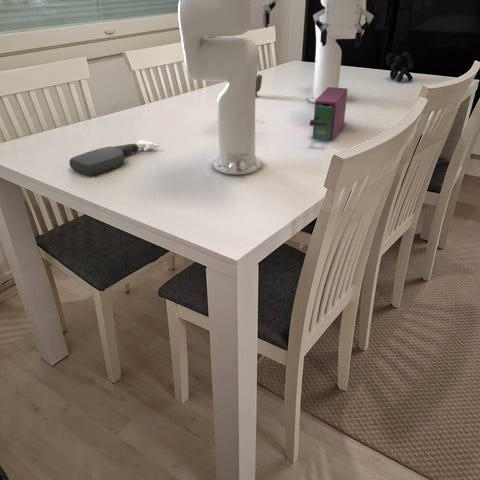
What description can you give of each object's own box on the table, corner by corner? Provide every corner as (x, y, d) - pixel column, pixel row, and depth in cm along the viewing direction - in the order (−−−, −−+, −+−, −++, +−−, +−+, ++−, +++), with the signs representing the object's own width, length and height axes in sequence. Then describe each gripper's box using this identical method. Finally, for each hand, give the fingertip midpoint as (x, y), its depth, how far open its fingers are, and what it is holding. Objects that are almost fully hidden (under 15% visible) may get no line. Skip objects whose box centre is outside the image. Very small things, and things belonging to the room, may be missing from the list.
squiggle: (400, 92, 202) (376, 71, 205) (417, 76, 202) (392, 56, 205) (405, 81, 191) (380, 59, 194) (423, 64, 191) (397, 42, 194)
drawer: (324, 146, 129) (327, 112, 124) (307, 144, 130) (310, 111, 125) (340, 123, 146) (343, 93, 141) (324, 122, 148) (327, 92, 143)
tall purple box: (332, 140, 135) (336, 102, 129) (312, 138, 137) (315, 100, 131) (343, 123, 149) (347, 88, 143) (325, 121, 151) (328, 86, 145)
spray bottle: (67, 168, 120) (139, 144, 136) (91, 178, 114) (163, 151, 130) (65, 157, 118) (137, 134, 134) (89, 167, 112) (162, 142, 128)
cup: (240, 97, 179) (240, 76, 175) (248, 93, 185) (248, 72, 181) (257, 99, 176) (257, 78, 172) (265, 94, 182) (265, 74, 178)
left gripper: (222, -38, 123) (225, 30, 132) (282, -39, 126) (281, 27, 135) (218, -38, 129) (220, 27, 138) (275, -39, 132) (274, 25, 141)
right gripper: (379, -21, 124) (371, 45, 134) (318, -21, 130) (314, 42, 139) (376, -20, 119) (367, 49, 128) (312, -20, 124) (308, 46, 133)
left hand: (250, 27), depth 136 cm, fingers open, 9 cm apart
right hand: (339, 46), depth 133 cm, fingers open, 9 cm apart
